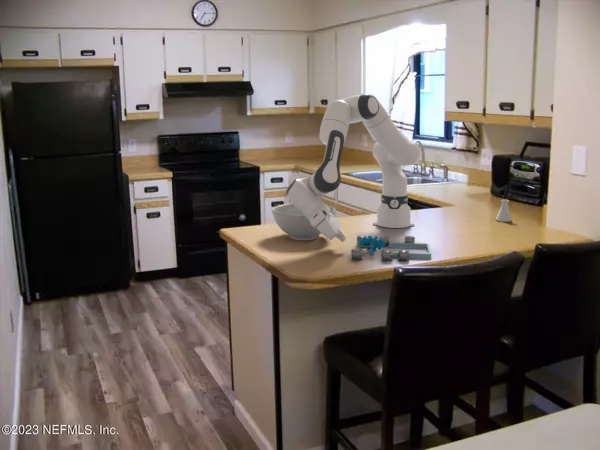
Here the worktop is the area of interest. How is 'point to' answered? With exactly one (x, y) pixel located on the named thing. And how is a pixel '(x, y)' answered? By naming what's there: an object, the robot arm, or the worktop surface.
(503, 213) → the flask
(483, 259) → the worktop surface
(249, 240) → the worktop surface
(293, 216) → the decorative bowl
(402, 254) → the spacers
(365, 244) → the gear
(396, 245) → the light blue u-shaped piece
